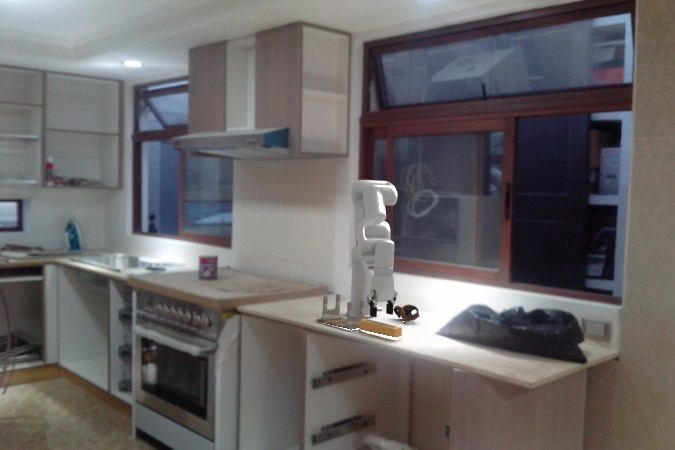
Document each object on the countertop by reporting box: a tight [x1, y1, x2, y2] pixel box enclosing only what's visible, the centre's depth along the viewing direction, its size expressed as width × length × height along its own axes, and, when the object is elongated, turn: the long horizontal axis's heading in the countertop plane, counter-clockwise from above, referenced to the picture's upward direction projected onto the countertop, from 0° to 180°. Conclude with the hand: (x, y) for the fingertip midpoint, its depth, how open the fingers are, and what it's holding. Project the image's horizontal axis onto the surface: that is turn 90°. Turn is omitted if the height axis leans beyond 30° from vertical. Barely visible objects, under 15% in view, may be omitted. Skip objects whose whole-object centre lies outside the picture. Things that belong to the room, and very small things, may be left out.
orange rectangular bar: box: [360, 318, 403, 337], centre depth 250 cm, size 18×4×5 cm, turn 46°
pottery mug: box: [393, 304, 421, 323], centre depth 277 cm, size 12×10×8 cm
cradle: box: [316, 293, 365, 330], centre depth 264 cm, size 20×11×11 cm, turn 45°
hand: (381, 315), depth 249 cm, fingers open, 9 cm apart
